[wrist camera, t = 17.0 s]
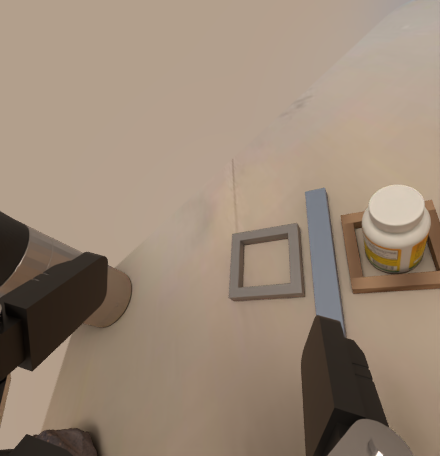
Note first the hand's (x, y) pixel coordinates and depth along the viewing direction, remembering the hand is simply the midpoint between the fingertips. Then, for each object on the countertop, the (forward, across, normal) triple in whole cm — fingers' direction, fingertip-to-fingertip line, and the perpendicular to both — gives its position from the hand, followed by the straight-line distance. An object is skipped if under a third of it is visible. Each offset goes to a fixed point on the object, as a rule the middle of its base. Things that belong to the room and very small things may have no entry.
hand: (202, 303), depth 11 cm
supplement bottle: (+23, -16, +4) cm, 28 cm away
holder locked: (+23, -16, +4) cm, 28 cm away
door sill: (+24, -9, +7) cm, 27 cm away
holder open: (+25, -3, +10) cm, 27 cm away
